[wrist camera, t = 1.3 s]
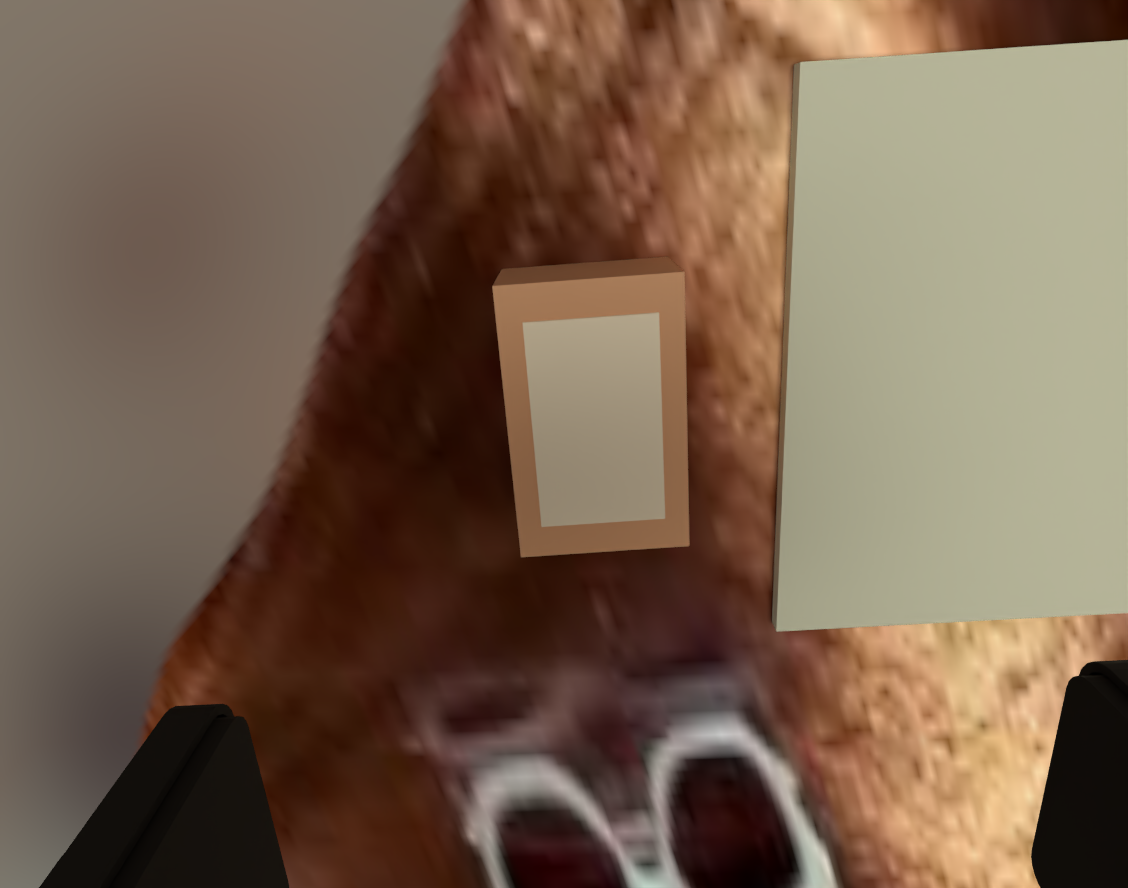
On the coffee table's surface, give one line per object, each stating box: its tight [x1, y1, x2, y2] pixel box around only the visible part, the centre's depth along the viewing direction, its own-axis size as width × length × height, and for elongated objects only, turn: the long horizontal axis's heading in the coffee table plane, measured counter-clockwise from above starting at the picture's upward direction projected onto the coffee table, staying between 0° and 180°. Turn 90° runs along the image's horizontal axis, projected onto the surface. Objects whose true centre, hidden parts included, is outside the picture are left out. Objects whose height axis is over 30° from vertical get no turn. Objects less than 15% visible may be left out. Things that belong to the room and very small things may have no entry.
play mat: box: [772, 40, 1128, 632], centre depth 24 cm, size 18×16×1 cm
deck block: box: [492, 257, 689, 557], centre depth 23 cm, size 8×5×4 cm, turn 4°
